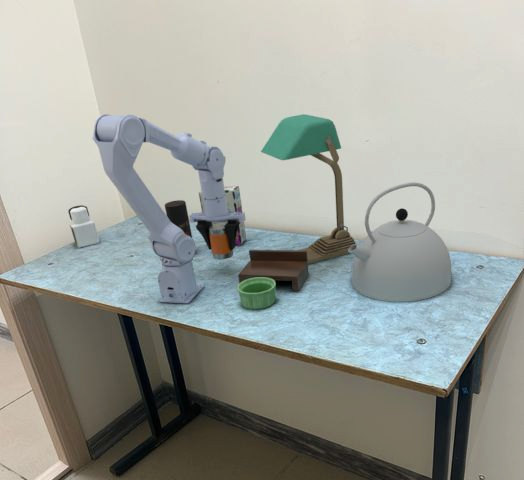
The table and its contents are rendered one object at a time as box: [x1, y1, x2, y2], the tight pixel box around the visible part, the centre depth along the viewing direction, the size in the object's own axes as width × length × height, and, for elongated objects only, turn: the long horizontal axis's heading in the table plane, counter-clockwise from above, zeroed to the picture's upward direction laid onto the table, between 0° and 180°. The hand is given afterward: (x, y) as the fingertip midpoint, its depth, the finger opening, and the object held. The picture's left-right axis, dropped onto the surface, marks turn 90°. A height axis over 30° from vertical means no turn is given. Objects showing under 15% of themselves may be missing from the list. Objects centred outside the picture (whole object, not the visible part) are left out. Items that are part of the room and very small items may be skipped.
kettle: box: [348, 181, 452, 303], centre depth 122 cm, size 25×23×22 cm
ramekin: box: [236, 277, 277, 310], centre depth 126 cm, size 9×9×4 cm
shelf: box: [237, 249, 310, 293], centre depth 134 cm, size 10×15×6 cm, turn 71°
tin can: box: [208, 223, 234, 261], centre depth 141 cm, size 6×6×8 cm
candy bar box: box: [198, 185, 247, 246], centre depth 160 cm, size 11×5×16 cm, turn 73°
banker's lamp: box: [260, 113, 357, 265], centre depth 139 cm, size 16×21×35 cm
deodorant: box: [164, 199, 193, 239], centre depth 157 cm, size 6×6×15 cm
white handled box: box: [67, 204, 101, 249], centre depth 177 cm, size 7×7×12 cm
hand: (222, 248), depth 142 cm, fingers closed on tin can, 5 cm apart
